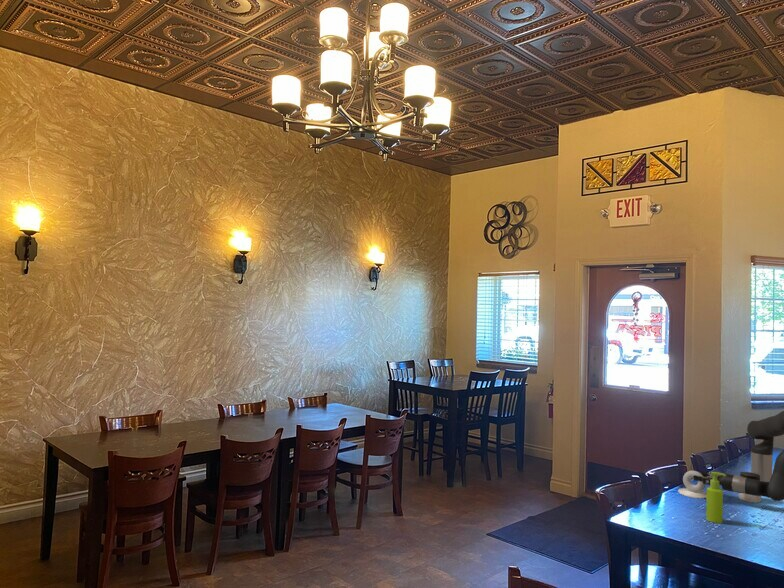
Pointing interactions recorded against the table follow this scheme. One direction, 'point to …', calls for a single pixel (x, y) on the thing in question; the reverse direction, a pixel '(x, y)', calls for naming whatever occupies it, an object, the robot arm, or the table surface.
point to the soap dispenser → (714, 500)
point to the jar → (746, 496)
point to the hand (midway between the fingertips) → (696, 475)
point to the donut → (689, 485)
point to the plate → (692, 493)
